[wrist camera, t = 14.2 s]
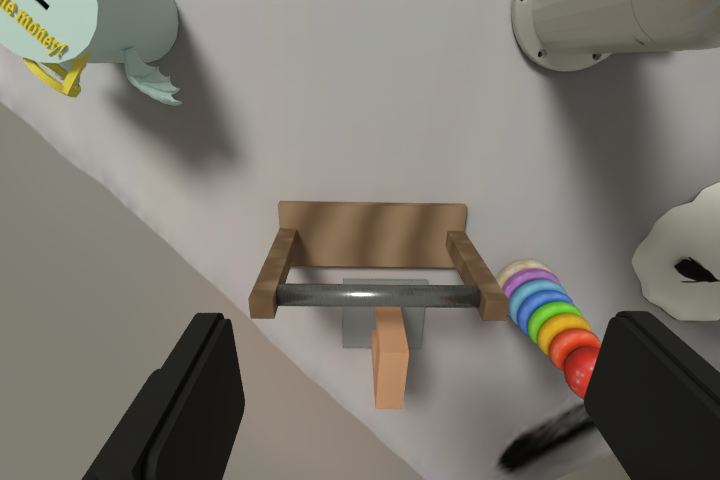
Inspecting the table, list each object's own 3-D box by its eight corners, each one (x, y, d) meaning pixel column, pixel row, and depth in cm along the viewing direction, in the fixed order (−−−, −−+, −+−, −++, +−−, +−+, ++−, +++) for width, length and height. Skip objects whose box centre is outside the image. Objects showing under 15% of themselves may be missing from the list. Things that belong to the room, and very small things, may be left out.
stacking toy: (502, 317, 53) (572, 437, 36) (482, 272, 50) (548, 380, 33) (558, 294, 52) (659, 408, 35) (541, 247, 49) (642, 346, 32)
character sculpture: (-3, -19, 36) (-184, -59, 24) (61, -126, 33) (-110, -235, 21) (173, 140, 43) (101, 172, 30) (241, 63, 39) (191, 63, 27)
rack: (464, 203, 46) (516, 270, 31) (456, 263, 49) (499, 348, 35) (279, 201, 46) (244, 267, 31) (284, 261, 49) (254, 346, 34)
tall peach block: (397, 290, 51) (409, 353, 40) (392, 339, 54) (402, 409, 43) (374, 289, 51) (380, 352, 40) (370, 338, 54) (375, 408, 43)
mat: (427, 279, 50) (427, 281, 50) (420, 346, 55) (420, 348, 55) (343, 278, 50) (343, 280, 50) (342, 345, 55) (342, 347, 54)
